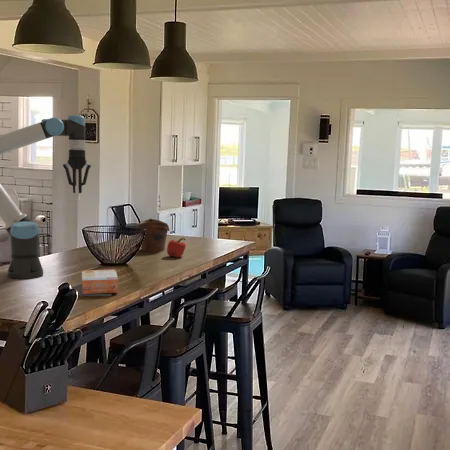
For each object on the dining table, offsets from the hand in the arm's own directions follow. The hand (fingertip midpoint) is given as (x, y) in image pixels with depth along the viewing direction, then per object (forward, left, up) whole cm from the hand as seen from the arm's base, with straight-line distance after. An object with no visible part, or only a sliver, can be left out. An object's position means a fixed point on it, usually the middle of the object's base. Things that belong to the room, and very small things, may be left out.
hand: (77, 200), depth 294 cm
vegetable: (+46, +35, -33) cm, 66 cm away
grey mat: (+14, -46, -32) cm, 58 cm away
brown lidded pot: (+32, +57, -33) cm, 73 cm away
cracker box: (+14, -34, -29) cm, 47 cm away
